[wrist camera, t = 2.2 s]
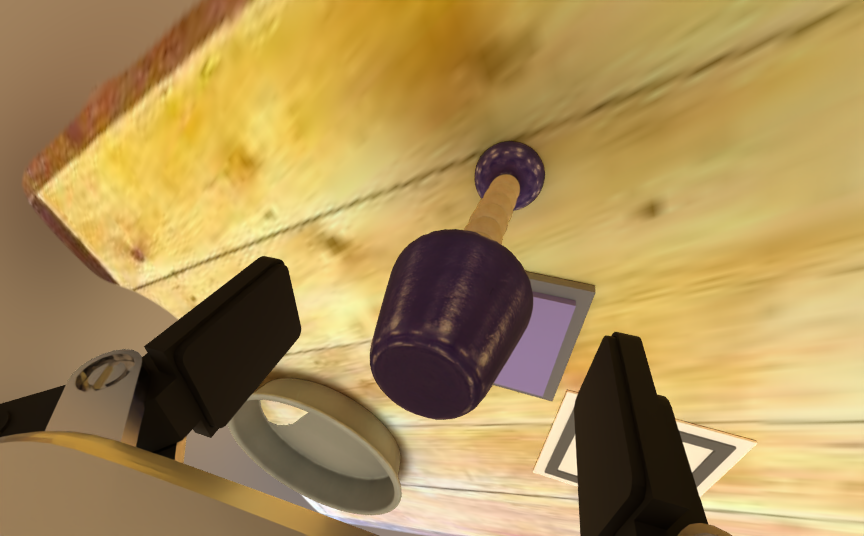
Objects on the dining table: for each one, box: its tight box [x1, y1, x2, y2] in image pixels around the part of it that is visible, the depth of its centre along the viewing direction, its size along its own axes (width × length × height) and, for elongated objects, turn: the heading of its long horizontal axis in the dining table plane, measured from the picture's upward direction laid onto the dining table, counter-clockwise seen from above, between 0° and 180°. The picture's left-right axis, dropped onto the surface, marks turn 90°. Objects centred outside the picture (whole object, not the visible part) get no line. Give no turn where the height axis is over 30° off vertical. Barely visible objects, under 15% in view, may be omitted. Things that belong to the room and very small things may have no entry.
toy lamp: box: [370, 141, 545, 420], centre depth 15 cm, size 5×5×17 cm
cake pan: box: [228, 378, 402, 515], centre depth 46 cm, size 25×25×4 cm
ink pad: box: [493, 272, 595, 401], centre depth 28 cm, size 12×12×1 cm
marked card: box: [533, 390, 757, 497], centre depth 33 cm, size 14×14×1 cm
